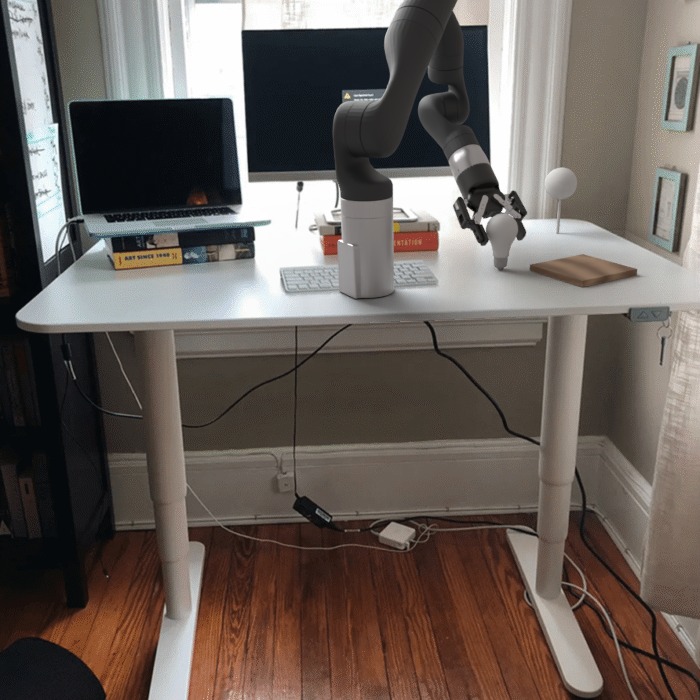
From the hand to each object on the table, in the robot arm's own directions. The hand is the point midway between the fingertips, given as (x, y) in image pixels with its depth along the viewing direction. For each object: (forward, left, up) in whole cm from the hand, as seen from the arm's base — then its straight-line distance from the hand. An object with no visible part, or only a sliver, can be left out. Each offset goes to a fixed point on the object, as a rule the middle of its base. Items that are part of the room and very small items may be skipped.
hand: (504, 240), depth 154 cm
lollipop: (+31, +18, -6) cm, 36 cm away
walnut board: (+11, -10, -6) cm, 16 cm away
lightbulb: (0, +1, -6) cm, 6 cm away
